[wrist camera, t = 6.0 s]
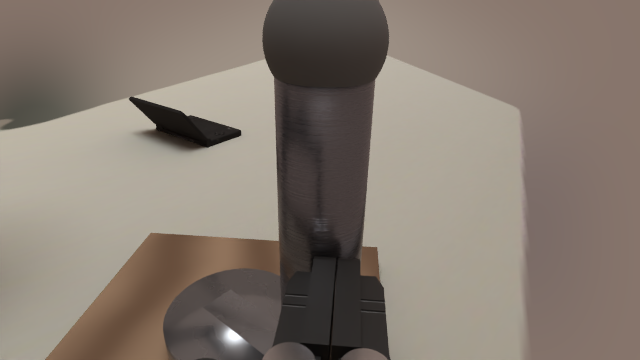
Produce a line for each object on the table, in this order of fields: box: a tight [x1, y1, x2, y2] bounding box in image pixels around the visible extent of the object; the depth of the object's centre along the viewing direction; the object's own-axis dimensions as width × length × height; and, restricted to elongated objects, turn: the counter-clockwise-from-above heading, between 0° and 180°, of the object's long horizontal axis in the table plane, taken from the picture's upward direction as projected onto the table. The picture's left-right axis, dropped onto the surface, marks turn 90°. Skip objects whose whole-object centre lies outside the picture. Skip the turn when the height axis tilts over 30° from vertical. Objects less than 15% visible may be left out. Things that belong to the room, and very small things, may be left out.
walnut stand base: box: [45, 233, 380, 360], centre depth 23 cm, size 17×16×2 cm
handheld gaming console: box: [129, 97, 241, 148], centre depth 54 cm, size 12×7×10 cm
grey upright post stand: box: [163, 0, 389, 360], centre depth 17 cm, size 11×7×17 cm, turn 50°
